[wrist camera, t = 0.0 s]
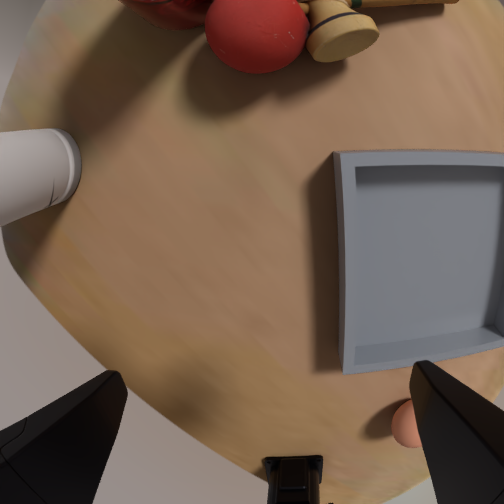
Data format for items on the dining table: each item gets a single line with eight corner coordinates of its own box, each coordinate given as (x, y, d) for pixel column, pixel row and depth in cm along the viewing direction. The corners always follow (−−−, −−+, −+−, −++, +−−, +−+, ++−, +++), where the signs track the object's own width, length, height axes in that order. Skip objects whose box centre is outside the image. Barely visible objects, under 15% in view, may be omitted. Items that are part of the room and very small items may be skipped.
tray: (494, 327, 23) (509, 344, 20) (338, 351, 25) (342, 374, 22) (515, 153, 18) (538, 157, 15) (332, 151, 20) (340, 153, 17)
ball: (426, 416, 27) (439, 451, 23) (383, 424, 28) (392, 461, 23) (437, 383, 26) (454, 419, 21) (390, 392, 26) (402, 430, 22)
